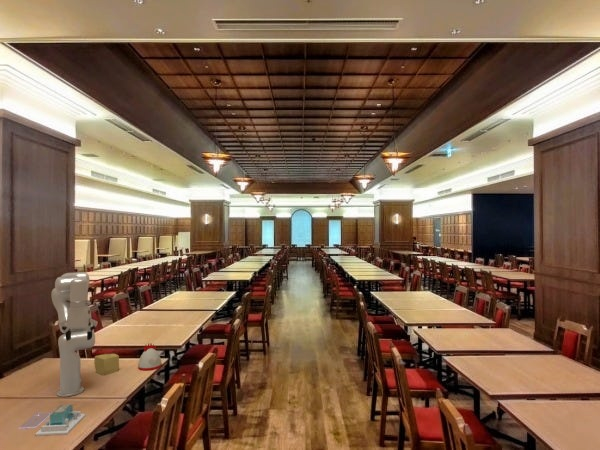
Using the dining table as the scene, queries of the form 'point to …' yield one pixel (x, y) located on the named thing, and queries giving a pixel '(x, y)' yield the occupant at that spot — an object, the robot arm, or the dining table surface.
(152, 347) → the kitchen timer
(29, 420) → the mobile phone
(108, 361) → the cheese
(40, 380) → the dining table surface
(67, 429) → the tray
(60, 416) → the teal rectangular block
